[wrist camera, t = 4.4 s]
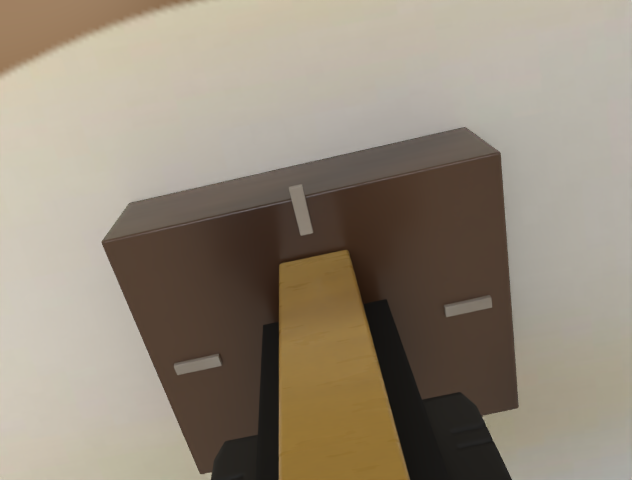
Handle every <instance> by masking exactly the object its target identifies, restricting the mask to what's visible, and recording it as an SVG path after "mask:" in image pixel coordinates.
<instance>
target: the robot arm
mask: <svg viewBox="0 0 632 480" xmlns="http://www.w3.org/2000/svg"><path fill="white" fill-rule="evenodd" d="M363 306H364V310H365V313H366V317H367V321H368V325H369V328H370V332H371V336H372V339H373V343H374V347H375V351H376V354H377V358H378V362H379V365H380V369H381V373H382V377H383V380H384V384H385V388H386V392H387V395H388V399H389V403H390V406H391V410H392V414H393V418H394V421H395V425H396V429H397V433H398V436H399V440H400V444H401V447H402V451H403V455H404V459H405V462H406V466H407V470H408V473H409V477H410V480H512V479H511V477H510V475H509V472H508V470H507V468H506V466H505V464H504V462H503V460H502V458H501V456H500V454H499V451H498V449H497V447H496V445H495V443H494V442H493V440H492V437H491V435H490V433H489V431H488V428H487V427H486V425H485V422H484V420H483V418H482V416H481V414H480V412H479V410H478V408H477V406H476V405H475V404H474V403H473V402H472V401H471V400H469V399H468V398H467V397H466V396H465V395H463V394H462V393H461V392H457V393H452V394H447V395H442V396H437V397H432V398H427V399H423V400H422V398H421V396H420V393H419V390H418V387H417V384H416V381H415V378H414V376H413V373H412V370H411V367H410V364H409V361H408V359H407V356H406V353H405V350H404V347H403V344H402V341H401V339H400V336H399V333H398V330H397V327H396V324H395V321H394V319H393V316H392V313H391V310H390V307H389V304H388V302H387V299H384V300H379V301H375V302H370V303H365V304H363ZM211 480H279V322H275V323H270V324H265V325H263V334H262V355H261V376H260V397H259V418H258V435H253V436H248V437H243V438H239V439H234V440H229V441H225V442H224V444H223V445H222V447H221V449H220V451H219V452H218V454H217V456H216V458H215V459H214V463H213V470H212V477H211Z"/></svg>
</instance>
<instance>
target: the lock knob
mask: <svg viewBox="0 0 632 480" xmlns="http://www.w3.org/2000/svg"><path fill="white" fill-rule="evenodd" d="M279 480H410V477H409V473H408V470H407V466H406V462H405V459H404V455H403V451H402V447H401V444H400V440H399V436H398V433H397V429H396V425H395V421H394V418H393V414H392V410H391V406H390V403H389V399H388V395H387V392H386V388H385V384H384V380H383V377H382V373H381V369H380V365H379V362H378V358H377V354H376V351H375V347H374V343H373V339H372V336H371V332H370V328H369V325H368V321H367V317H366V313H365V310H364V306H363V302H362V298H361V295H360V291H359V287H358V284H357V280H356V276H355V272H354V269H353V265H352V261H351V257H350V254H349V252H348V250H342V251H337V252H332V253H328V254H323V255H318V256H314V257H309V258H304V259H299V260H295V261H290V262H285V263H281V264H280V265H279Z"/></svg>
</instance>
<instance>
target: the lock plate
mask: <svg viewBox="0 0 632 480" xmlns="http://www.w3.org/2000/svg"><path fill="white" fill-rule="evenodd" d="M102 245H103V247H104V250H105V252H106V254H107V257H108V259H109V261H110V264H111V266H112V268H113V271H114V273H115V275H116V278H117V280H118V282H119V285H120V287H121V289H122V292H123V294H124V297H125V299H126V301H127V304H128V306H129V308H130V311H131V313H132V315H133V318H134V320H135V322H136V325H137V327H138V329H139V332H140V334H141V336H142V339H143V341H144V343H145V346H146V348H147V350H148V353H149V355H150V358H151V360H152V362H153V365H154V367H155V369H156V372H157V374H158V376H159V379H160V381H161V383H162V386H163V388H164V390H165V393H166V395H167V397H168V400H169V402H170V404H171V407H172V409H173V411H174V414H175V416H176V418H177V421H178V423H179V426H180V428H181V430H182V433H183V435H184V437H185V440H186V442H187V444H188V447H189V449H190V451H191V454H192V456H193V458H194V461H195V463H196V465H197V468H198V470H199V472H200V474H205V473H210V472H212V470H213V463H214V459H215V458H216V456H217V454H218V452H219V451H220V449H221V447H222V445H223V444H224V442H225V441H229V440H234V439H239V438H243V437H248V436H253V435H258V418H259V397H260V376H261V355H262V334H263V325H265V324H270V323H275V322H279V265H280V264H281V263H285V262H290V261H295V260H299V259H304V258H309V257H314V256H318V255H323V254H328V253H332V252H337V251H342V250H348V252H349V254H350V257H351V261H352V265H353V269H354V272H355V276H356V280H357V284H358V287H359V291H360V295H361V298H362V302H363V304H365V303H370V302H375V301H379V300H384V299H387V302H388V304H389V307H390V310H391V313H392V316H393V319H394V321H395V324H396V327H397V330H398V333H399V336H400V339H401V341H402V344H403V347H404V350H405V353H406V356H407V359H408V361H409V364H410V367H411V370H412V373H413V376H414V378H415V381H416V384H417V387H418V390H419V393H420V396H421V398H422V400H423V399H427V398H432V397H437V396H442V395H447V394H452V393H457V392H461V393H462V394H463V395H465V396H466V397H467V398H468V399H469V400H471V401H472V402H473V403H474V404H475V405H476V406H477V408H478V410H479V412H480V414H481V416H483V415H488V414H492V413H497V412H502V411H507V410H512V409H516V408H518V407H519V405H518V391H517V377H516V363H515V349H514V335H513V321H512V307H511V293H510V279H509V265H508V251H507V237H506V223H505V208H504V194H503V180H502V166H501V153H500V152H499V151H498V150H496V149H495V148H494V147H492V146H491V145H489V144H488V143H487V142H485V141H484V140H482V139H481V138H480V137H478V136H477V135H475V134H474V133H473V132H471V131H470V130H469V129H467V128H465V127H464V128H459V129H455V130H450V131H446V132H442V133H437V134H433V135H428V136H424V137H419V138H415V139H411V140H406V141H402V142H397V143H393V144H389V145H384V146H380V147H375V148H371V149H367V150H362V151H358V152H353V153H349V154H345V155H340V156H336V157H331V158H327V159H322V160H318V161H314V162H309V163H305V164H300V165H296V166H292V167H287V168H283V169H278V170H274V171H270V172H265V173H261V174H256V175H252V176H248V177H243V178H239V179H234V180H230V181H225V182H221V183H217V184H212V185H208V186H203V187H199V188H195V189H190V190H186V191H181V192H177V193H173V194H168V195H164V196H159V197H155V198H151V199H146V200H142V201H137V202H133V203H129V204H128V206H127V207H126V208H125V210H124V211H123V213H122V214H121V215H120V217H119V218H118V220H117V221H116V222H115V224H114V225H113V227H112V228H111V229H110V231H109V232H108V233H107V235H106V236H105V238H104V239H103V240H102Z"/></svg>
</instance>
